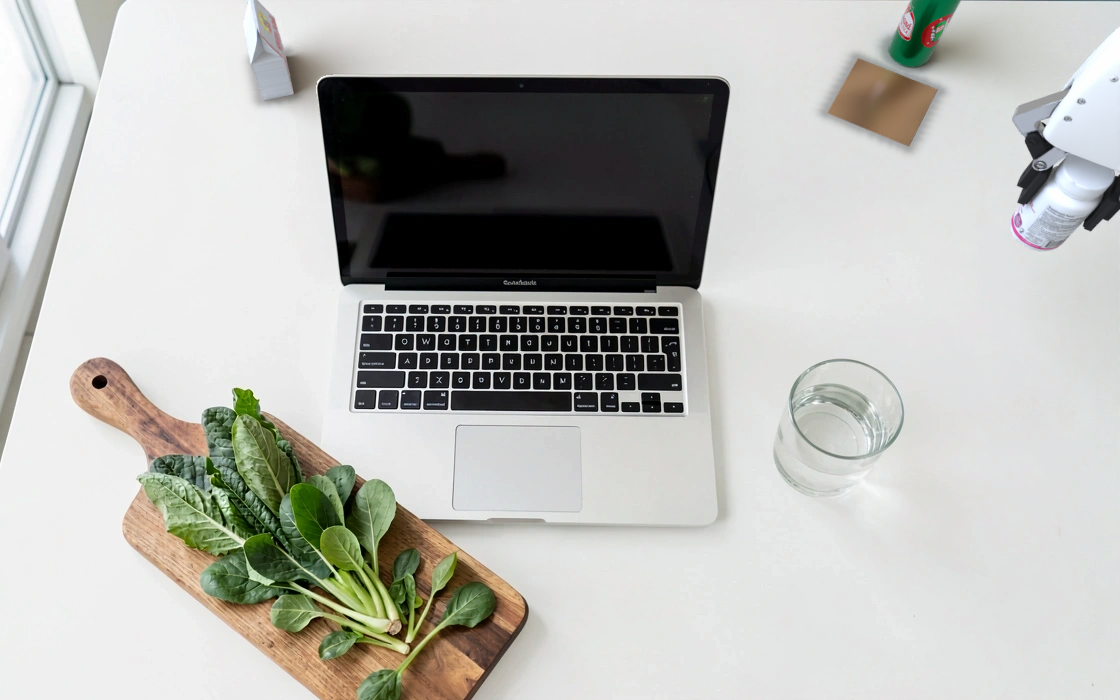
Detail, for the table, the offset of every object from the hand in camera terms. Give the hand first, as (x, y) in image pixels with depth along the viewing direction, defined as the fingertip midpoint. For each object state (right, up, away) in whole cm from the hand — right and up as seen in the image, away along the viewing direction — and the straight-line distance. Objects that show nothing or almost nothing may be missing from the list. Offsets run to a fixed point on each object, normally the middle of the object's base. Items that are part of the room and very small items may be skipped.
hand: (1058, 203), depth 76 cm
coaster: (-2, +18, +31) cm, 36 cm away
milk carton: (-75, +22, +33) cm, 85 cm away
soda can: (+2, +25, +35) cm, 43 cm away
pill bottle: (0, -2, +4) cm, 4 cm away
